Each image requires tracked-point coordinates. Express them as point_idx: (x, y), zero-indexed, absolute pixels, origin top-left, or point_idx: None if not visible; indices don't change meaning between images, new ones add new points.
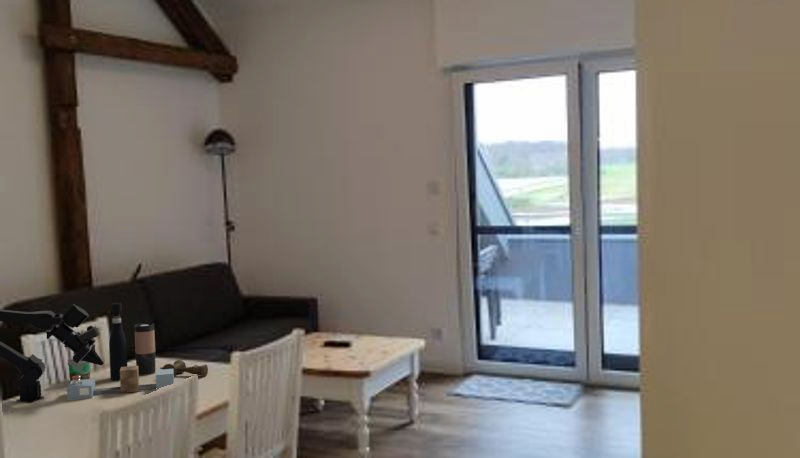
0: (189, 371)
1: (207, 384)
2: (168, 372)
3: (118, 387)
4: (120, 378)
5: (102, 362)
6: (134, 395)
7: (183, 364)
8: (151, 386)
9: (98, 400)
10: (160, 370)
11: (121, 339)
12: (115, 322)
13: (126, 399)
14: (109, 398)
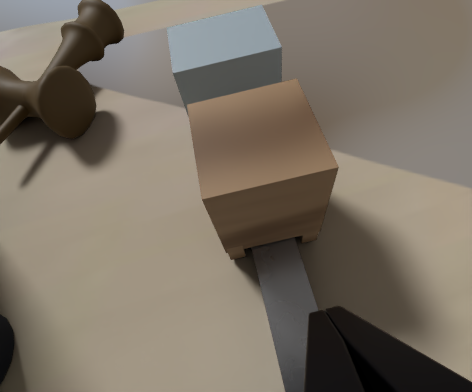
0: (85, 56)
1: (215, 12)
2: (235, 23)
3: (268, 260)
4: (327, 197)
5: (351, 316)
6: (346, 169)
7: (10, 71)
8: None
9: (468, 329)
10: (187, 58)
11: None
12: None
13: (419, 181)
14: (413, 273)
